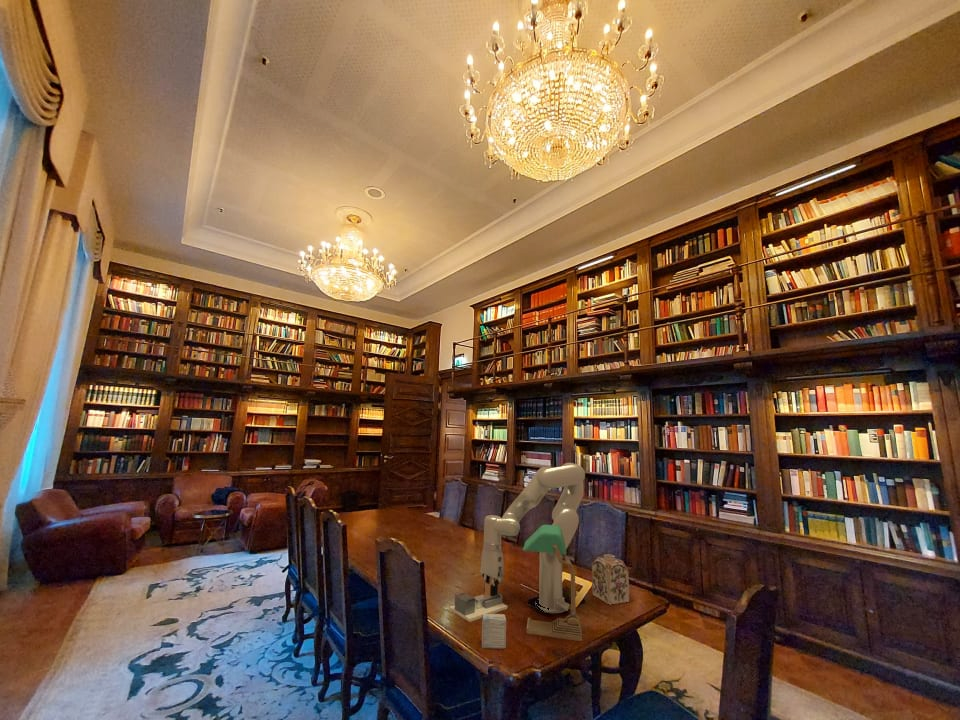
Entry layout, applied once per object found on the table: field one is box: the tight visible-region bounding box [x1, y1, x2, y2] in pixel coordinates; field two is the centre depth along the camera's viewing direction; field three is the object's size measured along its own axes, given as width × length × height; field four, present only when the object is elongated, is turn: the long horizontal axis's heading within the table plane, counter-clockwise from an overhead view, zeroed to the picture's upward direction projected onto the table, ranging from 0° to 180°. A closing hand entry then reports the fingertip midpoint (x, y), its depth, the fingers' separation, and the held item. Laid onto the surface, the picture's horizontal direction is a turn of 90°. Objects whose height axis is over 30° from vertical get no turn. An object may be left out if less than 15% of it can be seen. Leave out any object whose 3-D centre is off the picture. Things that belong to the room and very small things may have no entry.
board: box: [449, 592, 508, 623], centre depth 153 cm, size 13×20×4 cm, turn 131°
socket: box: [454, 592, 475, 616], centre depth 148 cm, size 7×5×5 cm
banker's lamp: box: [522, 524, 583, 642], centre depth 140 cm, size 16×21×35 cm
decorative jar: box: [591, 553, 630, 606], centre depth 170 cm, size 12×12×18 cm
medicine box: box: [481, 613, 507, 649], centre depth 126 cm, size 8×4×9 cm, turn 92°
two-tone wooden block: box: [473, 580, 498, 609], centre depth 155 cm, size 3×11×7 cm, turn 131°
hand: (490, 593), depth 157 cm, fingers closed on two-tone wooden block, 3 cm apart
